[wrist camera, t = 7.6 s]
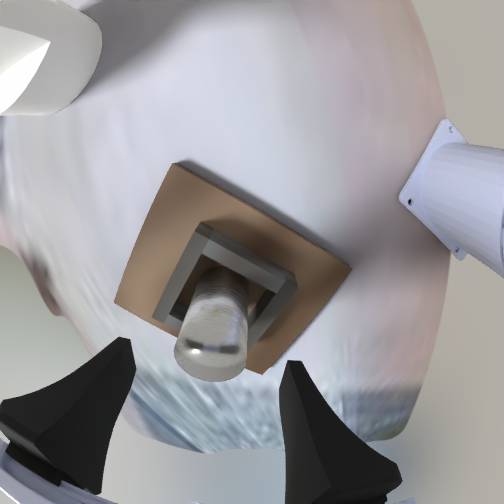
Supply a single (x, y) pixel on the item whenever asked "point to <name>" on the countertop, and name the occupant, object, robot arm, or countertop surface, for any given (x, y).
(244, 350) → the clear glass cylinder
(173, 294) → the dock
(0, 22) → the cylinder with rectangular tab
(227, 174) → the countertop surface
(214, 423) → the countertop surface
